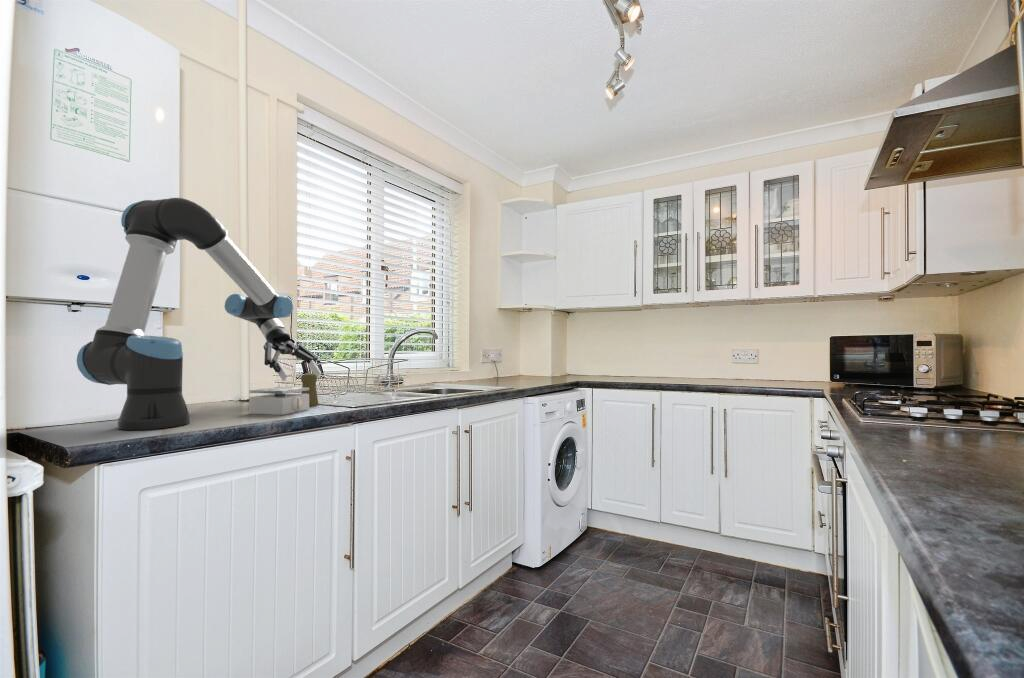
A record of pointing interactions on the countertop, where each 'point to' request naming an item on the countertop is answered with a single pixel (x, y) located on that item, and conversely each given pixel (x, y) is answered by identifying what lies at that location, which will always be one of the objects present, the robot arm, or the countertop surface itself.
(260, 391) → the scale pan
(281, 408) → the kitchen scale
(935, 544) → the countertop surface
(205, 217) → the robot arm
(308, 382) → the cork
